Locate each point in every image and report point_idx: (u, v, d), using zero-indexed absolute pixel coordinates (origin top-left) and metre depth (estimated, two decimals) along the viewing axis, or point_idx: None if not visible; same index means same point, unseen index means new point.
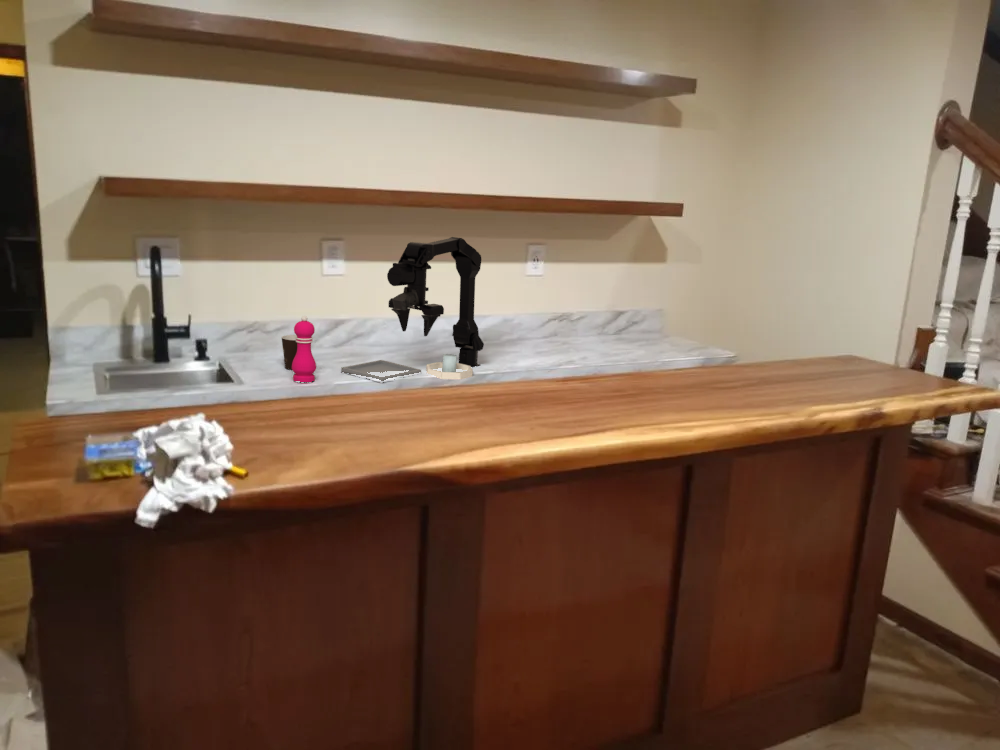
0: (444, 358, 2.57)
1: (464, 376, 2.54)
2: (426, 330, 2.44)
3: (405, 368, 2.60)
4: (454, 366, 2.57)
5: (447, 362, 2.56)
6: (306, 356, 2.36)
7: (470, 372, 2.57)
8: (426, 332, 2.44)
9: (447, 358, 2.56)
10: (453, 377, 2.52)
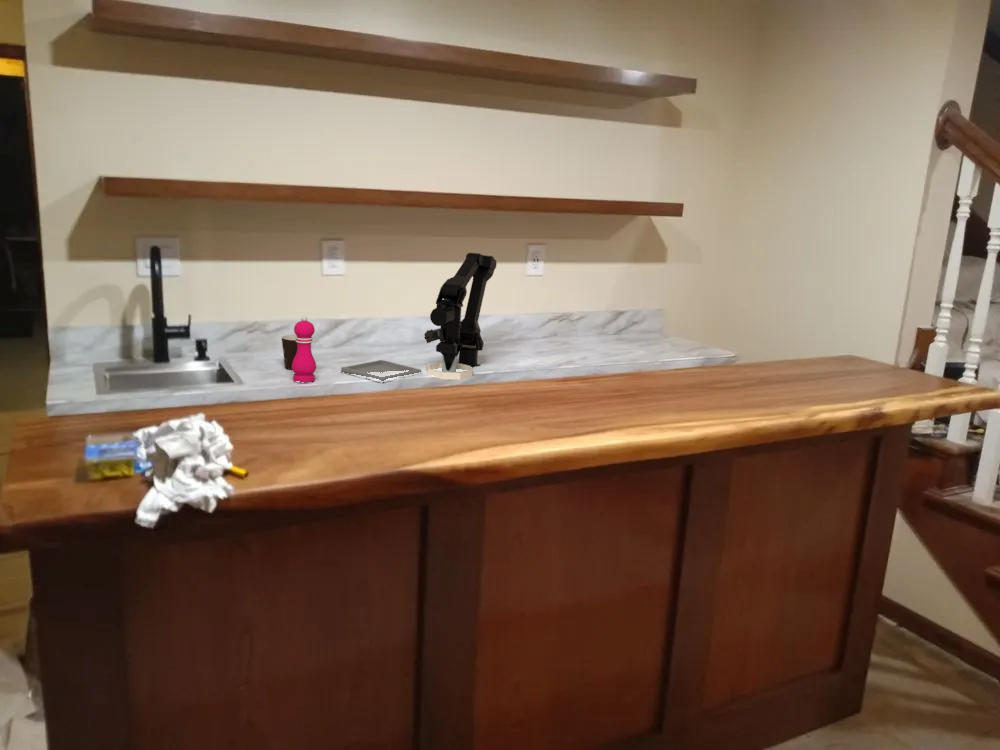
0: None
1: (464, 376, 2.54)
2: (446, 364, 2.56)
3: (405, 368, 2.60)
4: (454, 366, 2.57)
5: None
6: (306, 356, 2.36)
7: (470, 372, 2.57)
8: (447, 366, 2.56)
9: None
10: (453, 377, 2.52)
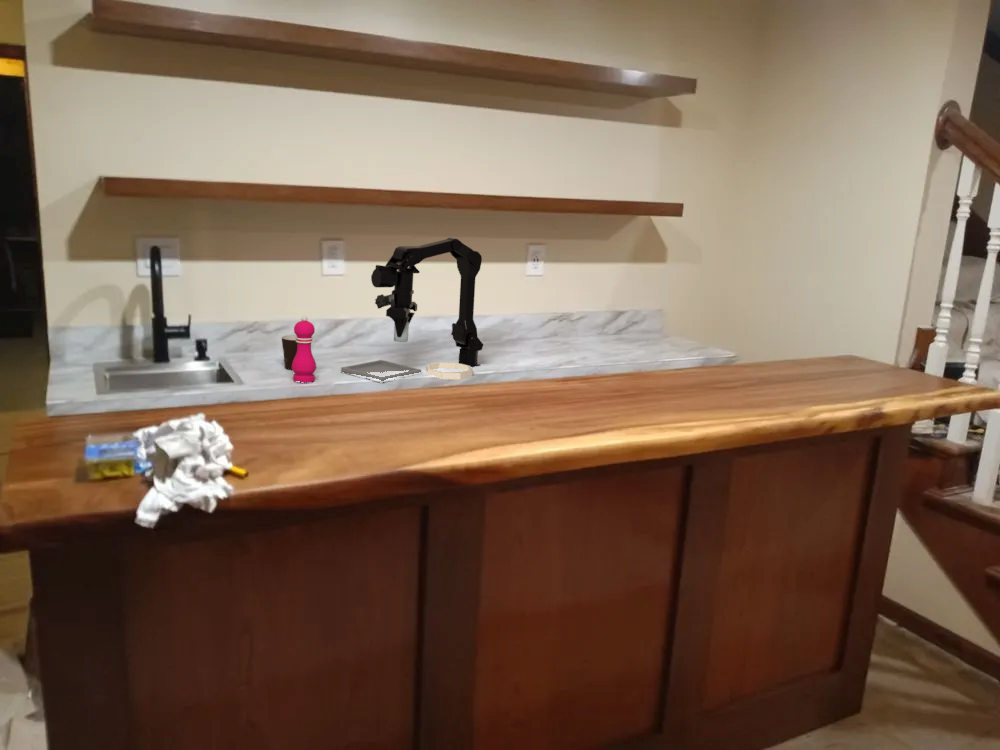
0: None
1: (464, 376, 2.54)
2: (397, 331, 2.50)
3: (405, 368, 2.60)
4: (406, 333, 2.52)
5: None
6: (306, 356, 2.36)
7: (470, 372, 2.57)
8: (398, 333, 2.50)
9: None
10: (453, 377, 2.52)
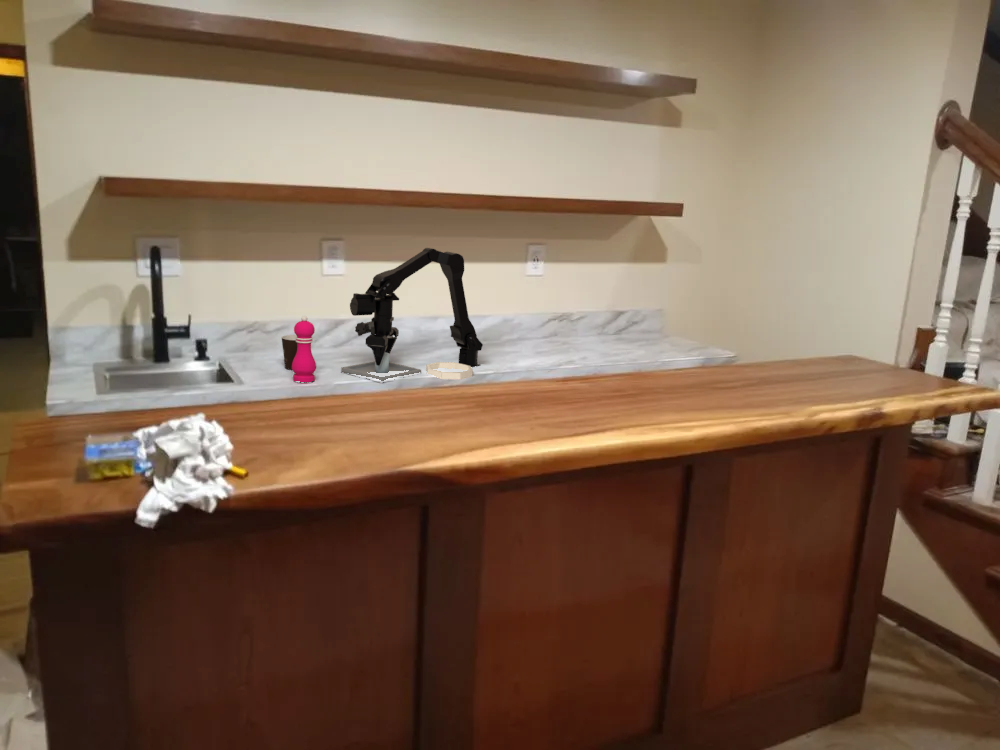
0: None
1: (464, 376, 2.54)
2: (376, 359, 2.49)
3: (405, 368, 2.60)
4: (386, 364, 2.53)
5: None
6: (306, 356, 2.36)
7: (470, 372, 2.57)
8: (376, 361, 2.49)
9: None
10: (453, 377, 2.52)
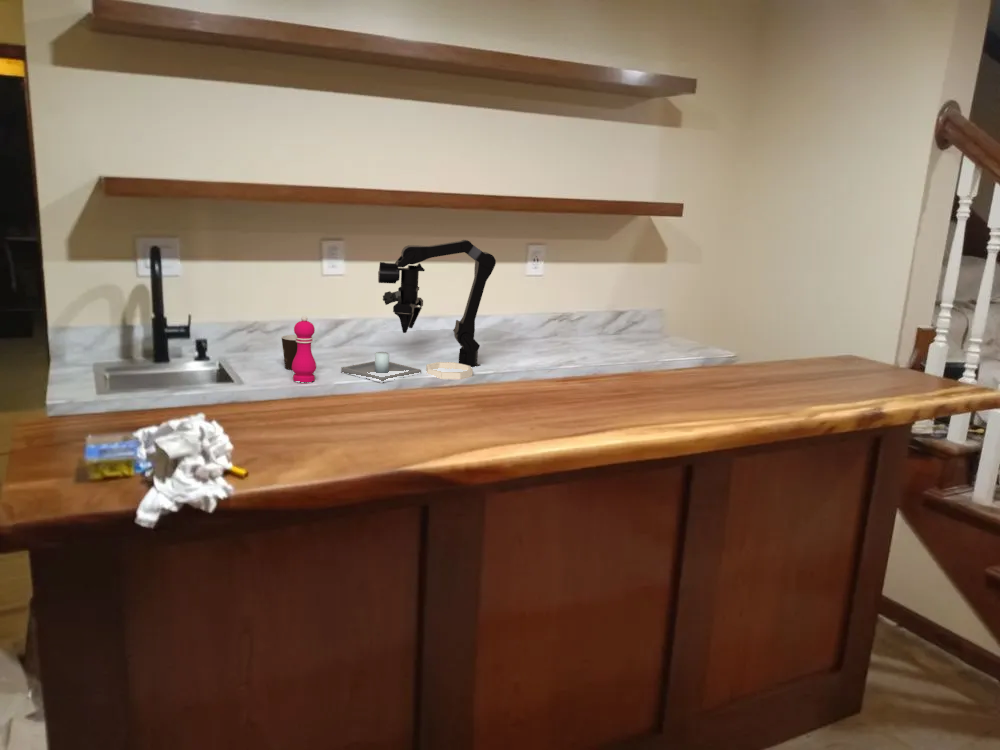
0: (376, 356, 2.52)
1: (464, 376, 2.54)
2: (402, 327, 2.60)
3: (405, 368, 2.60)
4: (386, 364, 2.53)
5: (379, 360, 2.52)
6: (306, 356, 2.36)
7: (470, 372, 2.57)
8: (403, 329, 2.61)
9: (379, 356, 2.52)
10: (453, 377, 2.52)
